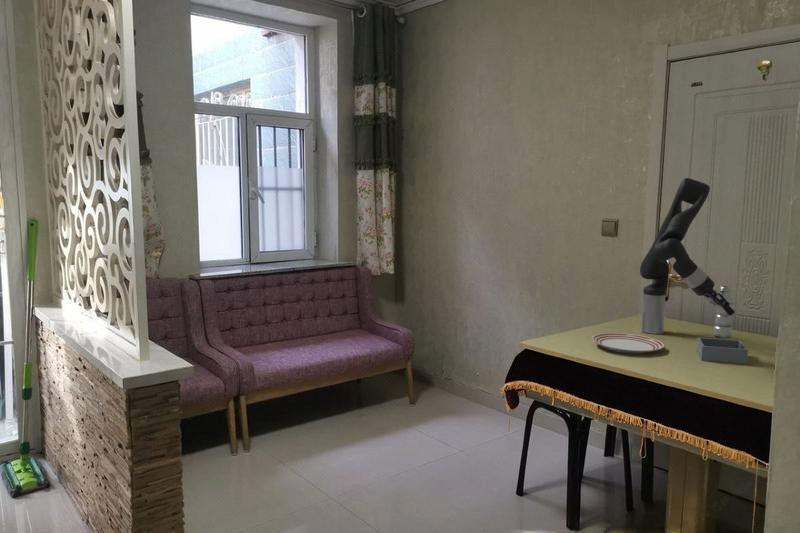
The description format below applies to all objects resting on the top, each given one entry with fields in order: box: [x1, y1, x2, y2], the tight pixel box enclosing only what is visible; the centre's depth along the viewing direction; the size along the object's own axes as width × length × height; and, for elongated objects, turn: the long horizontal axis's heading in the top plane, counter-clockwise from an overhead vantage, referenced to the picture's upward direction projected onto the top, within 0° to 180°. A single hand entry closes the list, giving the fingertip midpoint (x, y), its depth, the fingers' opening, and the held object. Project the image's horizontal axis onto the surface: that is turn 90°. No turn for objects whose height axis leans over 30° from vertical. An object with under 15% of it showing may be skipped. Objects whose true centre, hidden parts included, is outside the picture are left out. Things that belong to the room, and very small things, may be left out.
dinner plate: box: [591, 332, 665, 355], centre depth 243 cm, size 27×27×3 cm
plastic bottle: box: [712, 285, 735, 340], centre depth 227 cm, size 6×7×20 cm
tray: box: [696, 337, 749, 365], centre depth 229 cm, size 15×15×6 cm
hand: (728, 312), depth 227 cm, fingers closed on plastic bottle, 6 cm apart
